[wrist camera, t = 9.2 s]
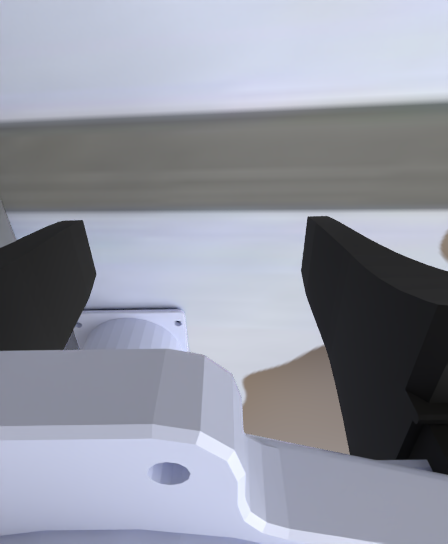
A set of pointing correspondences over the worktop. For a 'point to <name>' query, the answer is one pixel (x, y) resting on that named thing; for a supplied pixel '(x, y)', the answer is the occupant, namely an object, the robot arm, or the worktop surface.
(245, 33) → the worktop surface
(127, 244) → the worktop surface
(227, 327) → the worktop surface
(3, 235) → the mounting plate
